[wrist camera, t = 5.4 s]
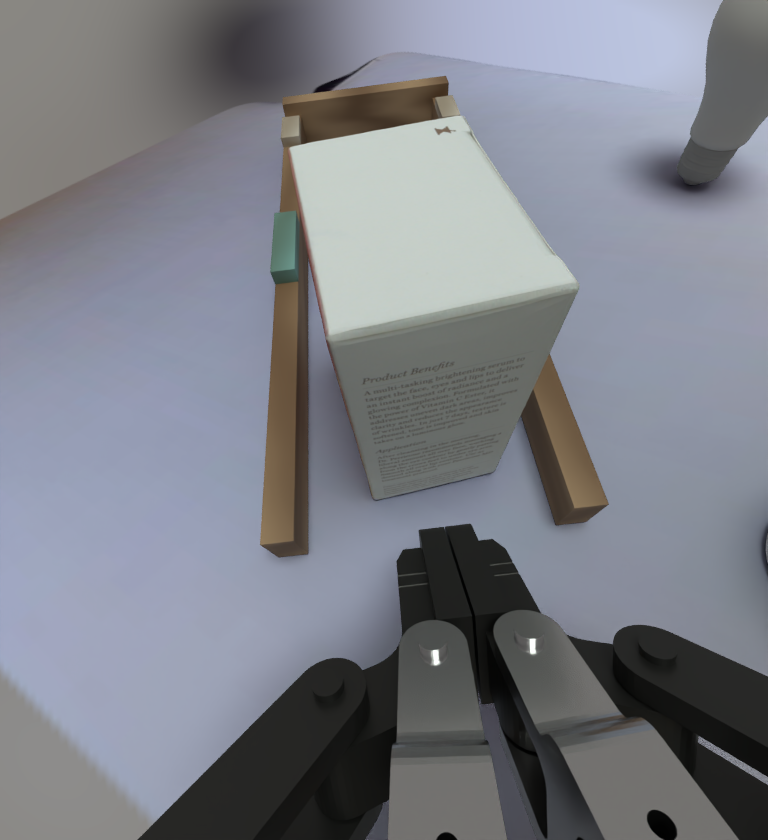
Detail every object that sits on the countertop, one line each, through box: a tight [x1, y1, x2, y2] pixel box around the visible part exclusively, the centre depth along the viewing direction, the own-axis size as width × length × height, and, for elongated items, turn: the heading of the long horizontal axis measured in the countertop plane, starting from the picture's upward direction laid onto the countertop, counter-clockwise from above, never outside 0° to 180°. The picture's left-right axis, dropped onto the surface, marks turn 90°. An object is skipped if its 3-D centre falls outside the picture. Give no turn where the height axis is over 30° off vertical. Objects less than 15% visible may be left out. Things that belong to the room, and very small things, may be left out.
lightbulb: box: [677, 0, 768, 185], centre depth 22 cm, size 6×6×11 cm
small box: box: [288, 116, 579, 500], centre depth 15 cm, size 8×6×10 cm
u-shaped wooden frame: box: [260, 76, 609, 557], centre depth 23 cm, size 12×33×3 cm, turn 6°
